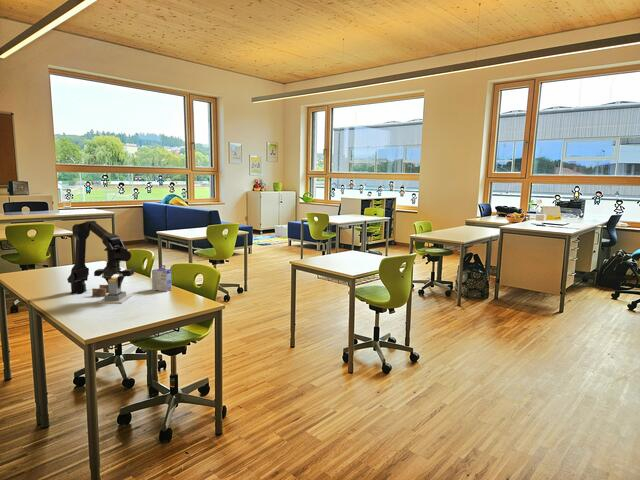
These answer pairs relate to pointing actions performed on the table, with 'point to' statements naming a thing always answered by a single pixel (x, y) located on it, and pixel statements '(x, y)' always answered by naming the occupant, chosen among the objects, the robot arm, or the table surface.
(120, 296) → the dock
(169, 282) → the ink cartridge box
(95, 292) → the wooden blocks
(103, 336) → the table surface
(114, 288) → the plug
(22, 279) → the table surface
